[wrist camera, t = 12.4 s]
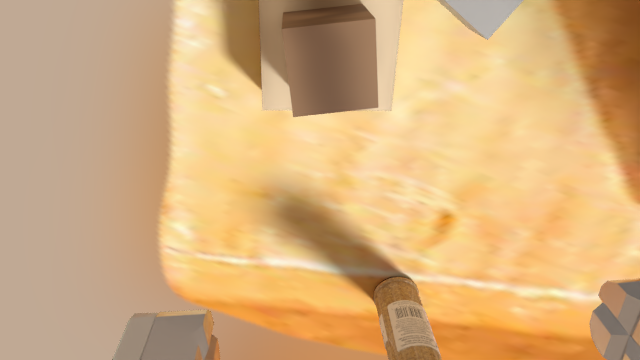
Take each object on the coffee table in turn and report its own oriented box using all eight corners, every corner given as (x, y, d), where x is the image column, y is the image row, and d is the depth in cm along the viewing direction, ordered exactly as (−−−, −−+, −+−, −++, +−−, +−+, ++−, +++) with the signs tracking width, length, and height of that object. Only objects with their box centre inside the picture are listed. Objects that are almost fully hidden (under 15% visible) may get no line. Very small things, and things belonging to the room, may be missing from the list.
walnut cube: (362, 3, 29) (375, 18, 24) (366, 81, 31) (378, 107, 27) (282, 12, 29) (281, 28, 24) (292, 89, 31) (293, 117, 27)
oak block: (393, -35, 31) (406, -30, 28) (381, 92, 36) (391, 111, 32) (261, -38, 31) (257, -33, 27) (265, 91, 35) (262, 110, 32)
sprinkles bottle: (365, 302, 46) (390, 433, 34) (384, 269, 44) (419, 395, 32) (405, 313, 47) (443, 443, 35) (426, 281, 45) (474, 407, 33)
